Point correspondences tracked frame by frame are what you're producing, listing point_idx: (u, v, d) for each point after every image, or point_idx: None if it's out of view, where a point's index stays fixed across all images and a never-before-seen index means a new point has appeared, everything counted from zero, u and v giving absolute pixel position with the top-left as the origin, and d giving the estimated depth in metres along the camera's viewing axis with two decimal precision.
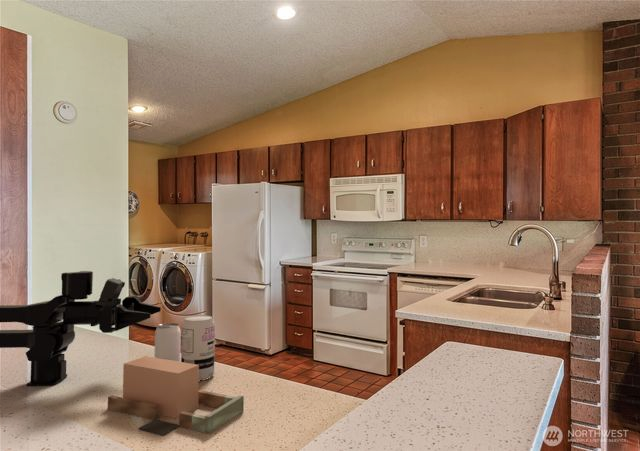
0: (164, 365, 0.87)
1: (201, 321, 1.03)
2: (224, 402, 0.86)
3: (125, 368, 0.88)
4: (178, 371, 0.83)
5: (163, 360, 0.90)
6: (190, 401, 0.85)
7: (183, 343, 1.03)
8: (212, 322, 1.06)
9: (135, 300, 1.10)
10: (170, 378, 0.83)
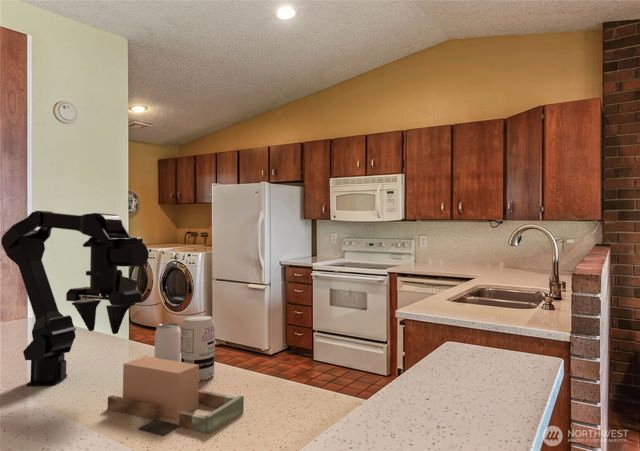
0: (164, 365, 0.87)
1: (201, 321, 1.03)
2: (224, 402, 0.86)
3: (125, 368, 0.88)
4: (178, 371, 0.83)
5: (163, 360, 0.90)
6: (190, 401, 0.85)
7: (183, 343, 1.03)
8: (212, 322, 1.06)
9: (98, 301, 1.02)
10: (170, 378, 0.83)
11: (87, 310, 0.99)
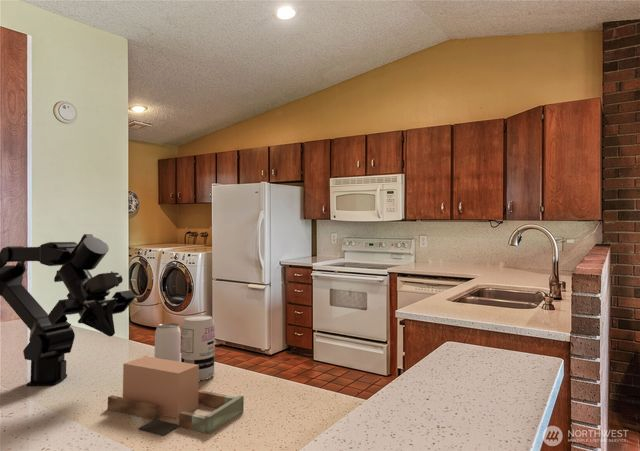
0: (164, 365, 0.87)
1: (201, 321, 1.03)
2: (224, 402, 0.86)
3: (125, 368, 0.88)
4: (178, 371, 0.83)
5: (163, 360, 0.90)
6: (190, 401, 0.85)
7: (183, 343, 1.03)
8: (212, 322, 1.06)
9: (106, 305, 0.96)
10: (170, 378, 0.83)
11: None
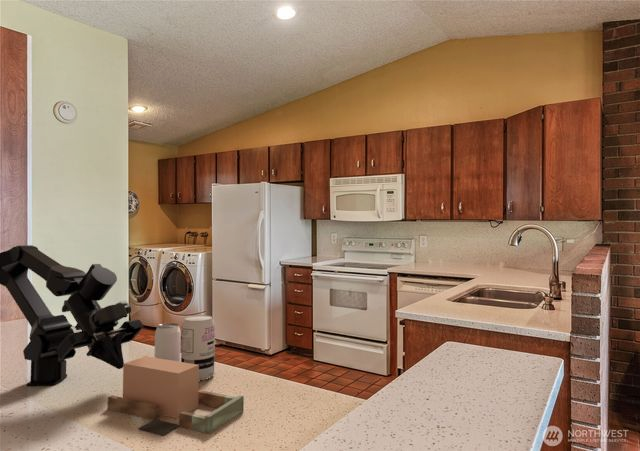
0: (164, 365, 0.87)
1: (201, 321, 1.03)
2: (224, 402, 0.86)
3: (125, 368, 0.88)
4: (178, 371, 0.83)
5: (163, 360, 0.90)
6: (190, 401, 0.85)
7: (183, 343, 1.03)
8: (212, 322, 1.06)
9: (115, 337, 0.94)
10: (170, 378, 0.83)
11: None
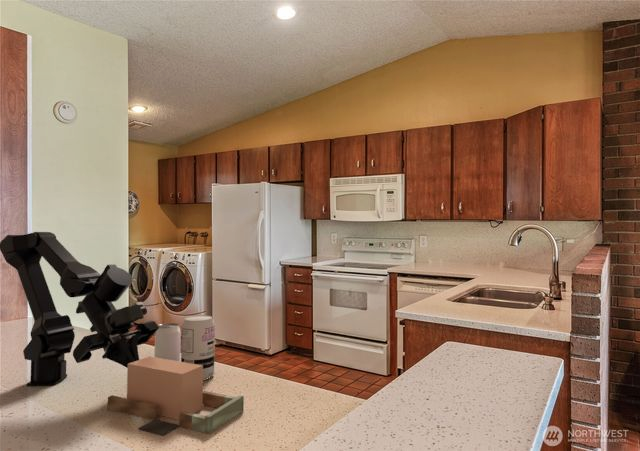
0: (168, 366, 0.86)
1: (201, 321, 1.03)
2: (224, 402, 0.86)
3: (129, 368, 0.87)
4: (182, 372, 0.82)
5: (167, 360, 0.90)
6: (194, 402, 0.84)
7: (183, 343, 1.03)
8: (212, 322, 1.06)
9: (131, 339, 0.92)
10: (174, 378, 0.82)
11: None
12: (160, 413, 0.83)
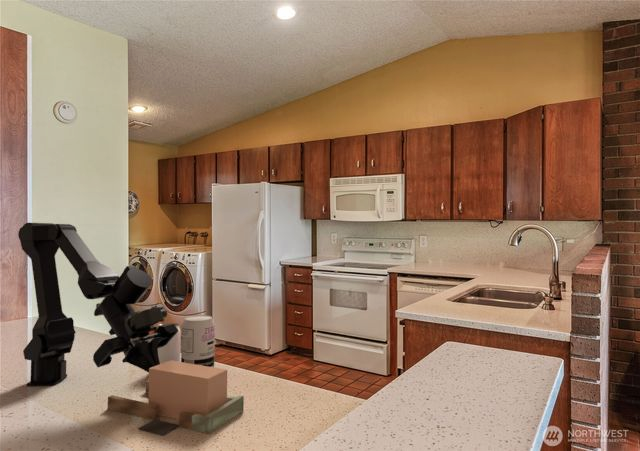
0: (191, 370, 0.84)
1: (201, 321, 1.03)
2: None
3: (151, 373, 0.85)
4: (207, 376, 0.80)
5: (189, 364, 0.87)
6: None
7: (183, 343, 1.03)
8: (212, 322, 1.06)
9: (151, 342, 0.90)
10: (199, 383, 0.80)
11: None
12: None
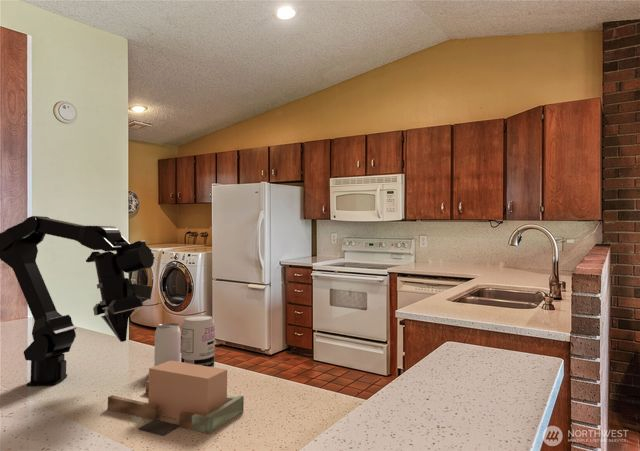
0: (191, 370, 0.84)
1: (201, 321, 1.03)
2: None
3: (151, 373, 0.85)
4: (207, 376, 0.80)
5: (189, 364, 0.87)
6: None
7: (183, 343, 1.03)
8: (212, 322, 1.06)
9: None
10: (199, 383, 0.80)
11: None
12: None
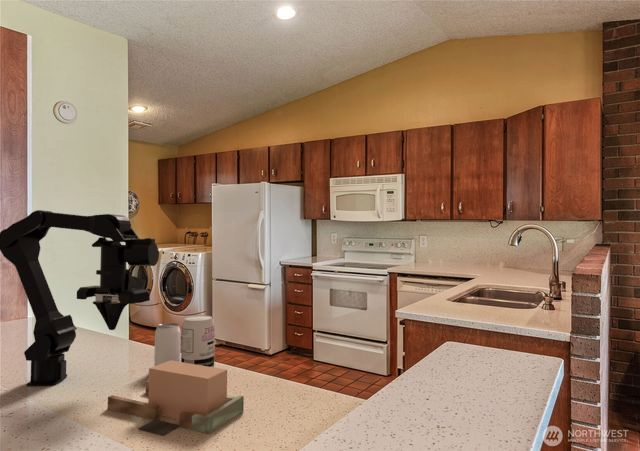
0: (191, 370, 0.84)
1: (201, 321, 1.03)
2: None
3: (151, 373, 0.85)
4: (207, 376, 0.80)
5: (189, 364, 0.87)
6: None
7: (183, 343, 1.03)
8: (212, 322, 1.06)
9: None
10: (199, 383, 0.80)
11: None
12: None
